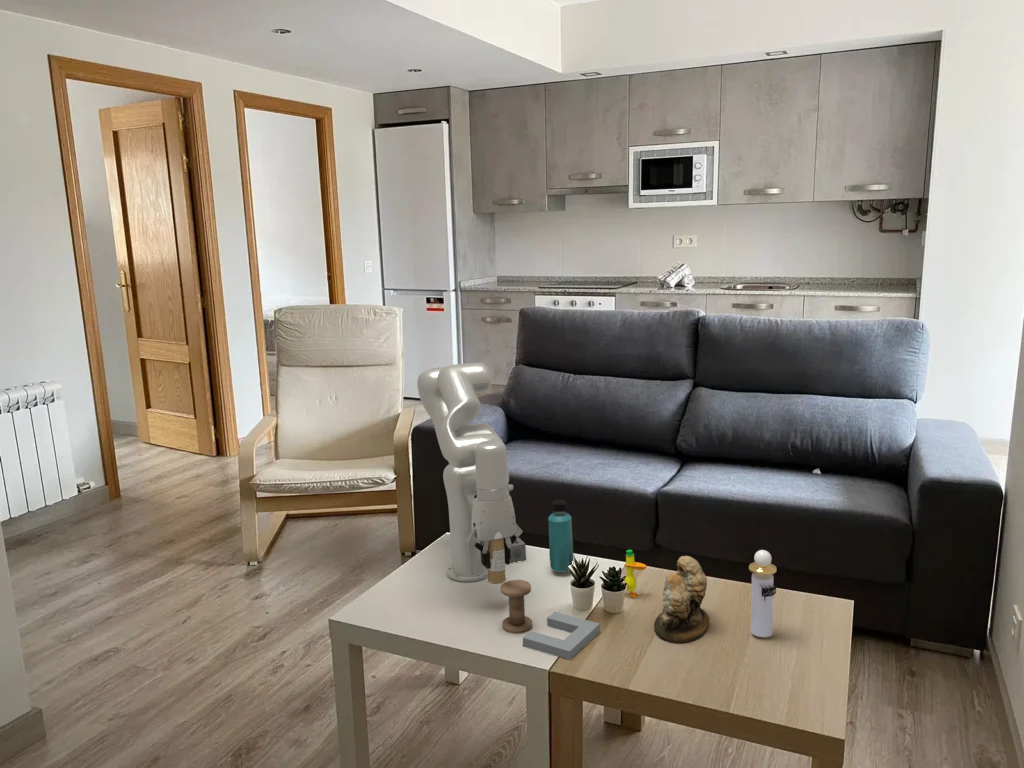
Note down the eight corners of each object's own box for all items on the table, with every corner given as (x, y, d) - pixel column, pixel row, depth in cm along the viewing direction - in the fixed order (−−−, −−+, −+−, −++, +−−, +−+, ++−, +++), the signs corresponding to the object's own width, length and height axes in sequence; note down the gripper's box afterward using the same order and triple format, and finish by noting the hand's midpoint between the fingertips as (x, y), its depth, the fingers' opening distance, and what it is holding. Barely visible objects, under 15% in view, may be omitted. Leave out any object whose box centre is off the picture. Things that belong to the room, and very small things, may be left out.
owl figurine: (668, 604, 192) (668, 538, 189) (716, 613, 187) (717, 545, 184) (645, 638, 177) (645, 566, 174) (698, 649, 171) (699, 575, 168)
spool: (513, 616, 189) (511, 577, 188) (538, 623, 186) (536, 583, 184) (496, 629, 184) (494, 588, 182) (522, 636, 180) (520, 595, 178)
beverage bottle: (572, 578, 209) (570, 506, 206) (547, 576, 211) (545, 505, 207) (575, 567, 216) (573, 497, 212) (551, 566, 217) (549, 497, 213)
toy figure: (648, 595, 197) (648, 550, 195) (644, 601, 194) (643, 555, 192) (623, 591, 200) (622, 546, 198) (618, 597, 197) (617, 551, 195)
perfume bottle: (742, 633, 177) (743, 549, 173) (761, 626, 180) (763, 543, 176) (761, 644, 172) (762, 557, 168) (780, 637, 175) (782, 552, 171)
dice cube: (526, 560, 222) (525, 543, 221) (509, 563, 221) (508, 546, 220) (519, 554, 227) (519, 537, 226) (503, 557, 225) (502, 540, 224)
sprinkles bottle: (485, 578, 194) (482, 526, 191) (503, 575, 195) (500, 524, 193) (490, 586, 189) (487, 533, 187) (508, 583, 191) (506, 530, 188)
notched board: (554, 619, 187) (554, 611, 187) (600, 631, 180) (599, 623, 180) (522, 645, 176) (522, 637, 175) (569, 659, 169) (569, 651, 169)
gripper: (518, 482, 195) (521, 552, 198) (453, 494, 188) (458, 566, 191) (531, 491, 188) (534, 563, 191) (464, 503, 182) (469, 577, 185)
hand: (496, 564), depth 191 cm, fingers closed on sprinkles bottle, 4 cm apart
